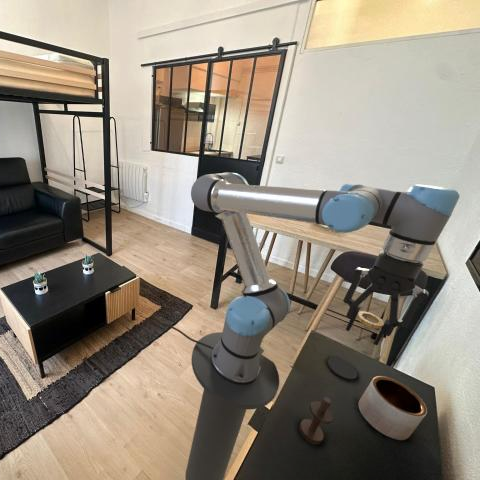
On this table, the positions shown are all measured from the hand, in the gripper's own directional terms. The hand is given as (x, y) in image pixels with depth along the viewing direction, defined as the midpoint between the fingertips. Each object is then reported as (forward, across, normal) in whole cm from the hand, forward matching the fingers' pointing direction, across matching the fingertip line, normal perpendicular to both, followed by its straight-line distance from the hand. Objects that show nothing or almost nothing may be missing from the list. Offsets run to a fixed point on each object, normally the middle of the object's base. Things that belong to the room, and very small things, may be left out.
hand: (362, 335), depth 66 cm
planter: (+21, +11, +1) cm, 24 cm away
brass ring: (-5, 0, 0) cm, 5 cm away
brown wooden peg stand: (+21, 0, -18) cm, 28 cm away
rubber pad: (+21, -1, +10) cm, 23 cm away
